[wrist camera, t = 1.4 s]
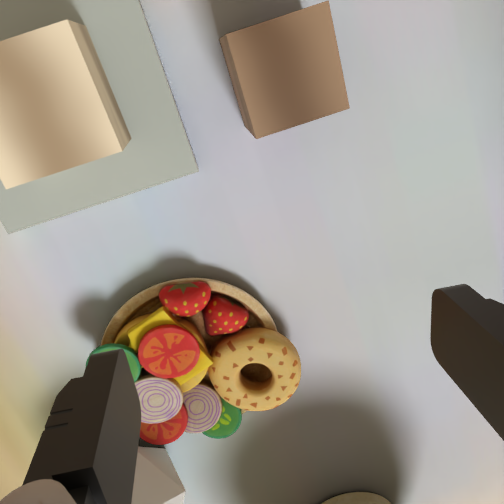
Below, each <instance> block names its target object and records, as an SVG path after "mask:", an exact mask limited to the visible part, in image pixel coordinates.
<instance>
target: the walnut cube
mask: <svg viewBox="0 0 504 504" xmlns="http://www.w3.org/2000/svg"><path fill="white" fill-rule="evenodd" d="M219 41H220V44H221V48H222V51H223V54H224V58H225V61H226V64H227V68H228V71H229V74H230V78H231V81H232V85H233V88H234V91H235V95H236V98H237V101H238V105H239V108H240V111H241V115H242V118H243V122H244V125H245V127H246V128H247V129H248V130H249V131H250V133H251V134H252V135H253V136H254V137H255V138H256V139H258V138H261V137H264V136H267V135H270V134H273V133H276V132H279V131H282V130H285V129H288V128H291V127H294V126H297V125H301V124H304V123H307V122H310V121H313V120H316V119H319V118H322V117H325V116H328V115H331V114H334V113H337V112H340V111H343V110H346V109H349V108H350V107H349V102H348V97H347V92H346V87H345V82H344V77H343V72H342V67H341V62H340V57H339V51H338V46H337V41H336V36H335V31H334V26H333V21H332V16H331V11H330V6H329V1H325V2H322V3H319V4H316V5H313V6H310V7H307V8H304V9H301V10H298V11H295V12H292V13H289V14H286V15H283V16H280V17H277V18H274V19H271V20H268V21H265V22H262V23H259V24H255V25H252V26H249V27H246V28H243V29H240V30H237V31H234V32H231V33H228V34H226V35H224V36H223V37H221V38H220V39H219Z"/></svg>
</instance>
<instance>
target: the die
mask: <svg viewBox="0 0 504 504" xmlns="http://www.w3.org/2000/svg"><path fill="white" fill-rule="evenodd" d="M185 492H186V491H185V489H184V487H183V484H182V482H181V480H180V478H179V476H178V474H177V472H176V470H175V468H174V466H173V464H172V462H171V459H170V457H169V455H168V453H167V451H166V449H164V448H151V447H138V453H137V461H136V469H135V477H134V485H133V494H132V502H131V504H183V501H184V497H185Z"/></svg>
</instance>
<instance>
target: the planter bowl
mask: <svg viewBox="0 0 504 504" xmlns="http://www.w3.org/2000/svg"><path fill="white" fill-rule="evenodd" d="M321 504H391V503H390V502H389V501H388V500H387V499H385V498H384V497H382V496H380V495H377V494H374V493H369V492H352V493H346V494H342V495H338V496H335V497H333V498H331V499H329V500H327V501H325V502H323V503H321Z"/></svg>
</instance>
